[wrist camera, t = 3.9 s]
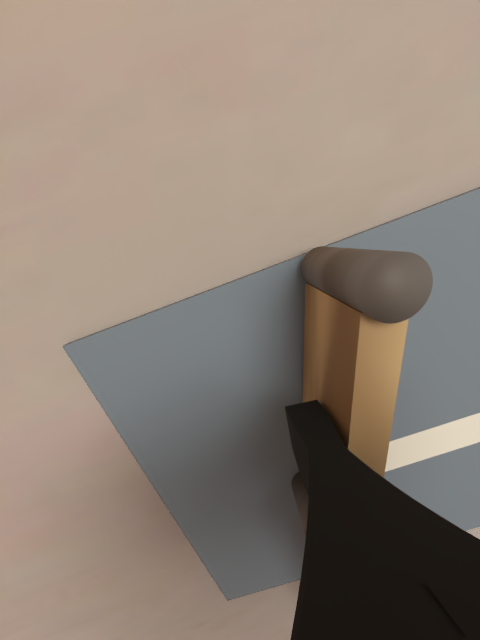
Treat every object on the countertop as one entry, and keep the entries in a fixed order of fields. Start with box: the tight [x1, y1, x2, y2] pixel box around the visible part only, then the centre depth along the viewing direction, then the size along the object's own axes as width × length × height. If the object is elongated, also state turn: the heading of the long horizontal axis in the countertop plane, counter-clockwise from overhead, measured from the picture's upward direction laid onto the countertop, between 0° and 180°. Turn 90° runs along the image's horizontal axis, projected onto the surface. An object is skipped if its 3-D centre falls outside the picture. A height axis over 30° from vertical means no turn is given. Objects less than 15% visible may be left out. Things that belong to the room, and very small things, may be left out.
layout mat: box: [63, 187, 480, 601], centre depth 13 cm, size 22×20×1 cm
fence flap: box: [301, 247, 433, 478], centre depth 9 cm, size 2×11×5 cm, turn 3°
